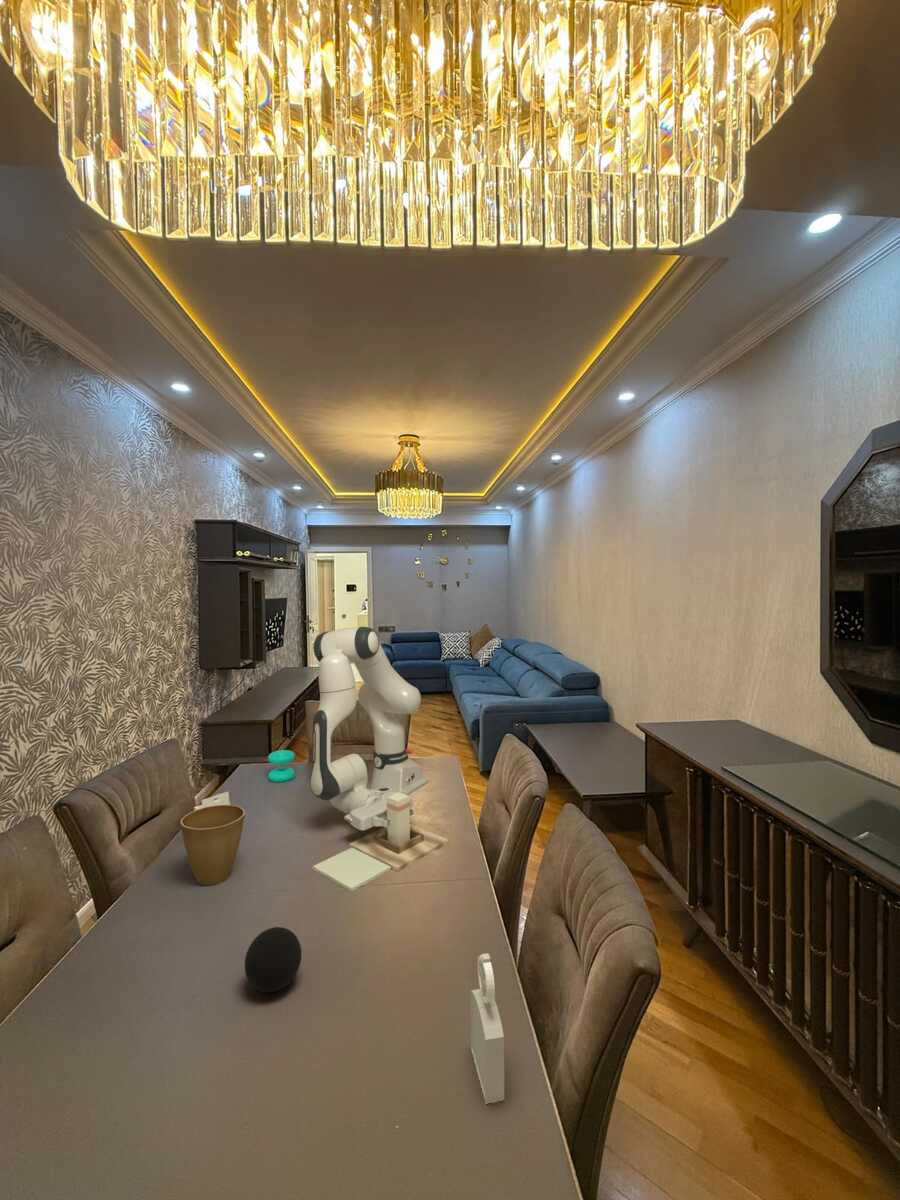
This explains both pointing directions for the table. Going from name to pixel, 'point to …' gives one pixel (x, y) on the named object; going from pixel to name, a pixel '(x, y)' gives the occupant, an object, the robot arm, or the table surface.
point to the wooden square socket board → (399, 847)
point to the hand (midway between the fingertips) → (400, 818)
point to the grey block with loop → (487, 1034)
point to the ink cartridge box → (215, 801)
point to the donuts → (281, 772)
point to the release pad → (351, 869)
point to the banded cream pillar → (398, 818)
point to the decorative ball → (273, 959)
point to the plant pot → (212, 841)
